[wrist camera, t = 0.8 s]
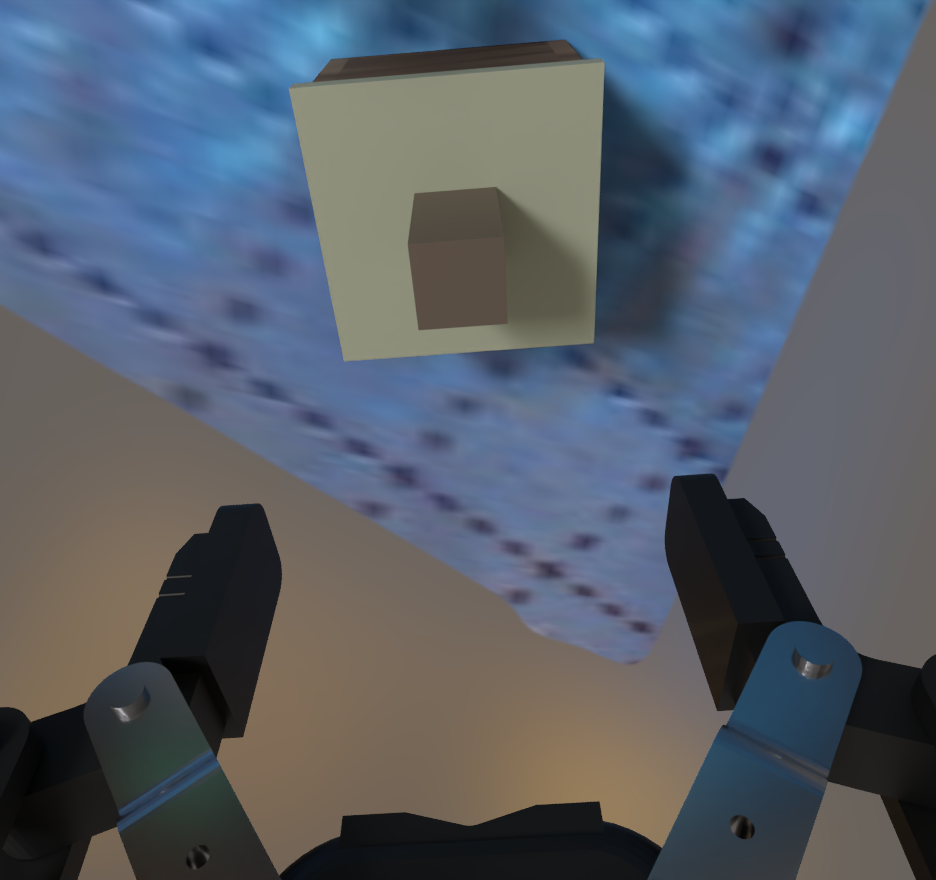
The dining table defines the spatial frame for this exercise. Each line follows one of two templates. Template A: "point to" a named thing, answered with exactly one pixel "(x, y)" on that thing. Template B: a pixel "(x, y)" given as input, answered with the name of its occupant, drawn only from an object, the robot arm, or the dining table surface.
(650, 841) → the robot arm
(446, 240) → the lid
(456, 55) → the box
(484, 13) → the dining table surface
